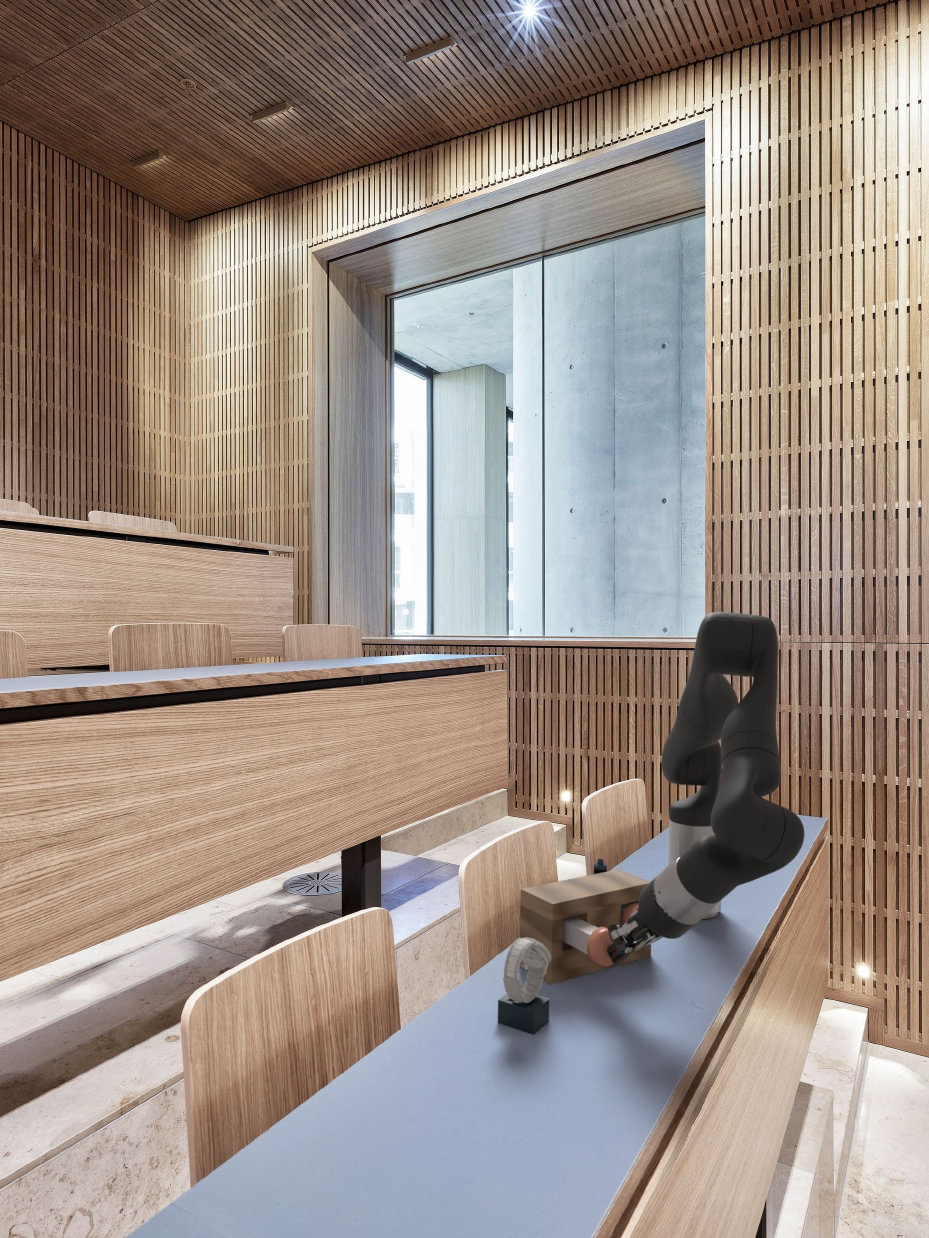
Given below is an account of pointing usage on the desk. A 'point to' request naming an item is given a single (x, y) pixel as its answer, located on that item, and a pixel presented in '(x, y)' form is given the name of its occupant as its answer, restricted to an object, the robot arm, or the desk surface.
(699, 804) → the robot arm
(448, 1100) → the desk surface
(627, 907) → the knob
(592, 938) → the knob
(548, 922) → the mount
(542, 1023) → the watch
